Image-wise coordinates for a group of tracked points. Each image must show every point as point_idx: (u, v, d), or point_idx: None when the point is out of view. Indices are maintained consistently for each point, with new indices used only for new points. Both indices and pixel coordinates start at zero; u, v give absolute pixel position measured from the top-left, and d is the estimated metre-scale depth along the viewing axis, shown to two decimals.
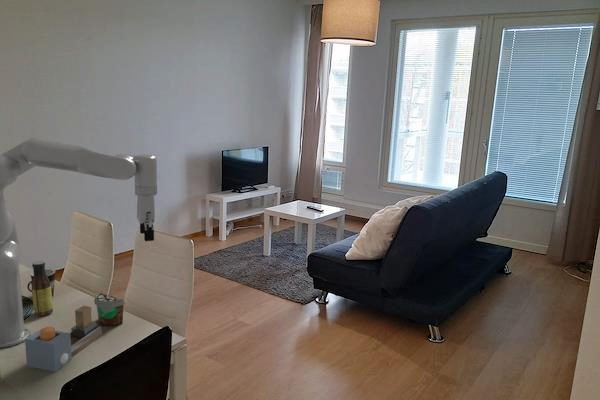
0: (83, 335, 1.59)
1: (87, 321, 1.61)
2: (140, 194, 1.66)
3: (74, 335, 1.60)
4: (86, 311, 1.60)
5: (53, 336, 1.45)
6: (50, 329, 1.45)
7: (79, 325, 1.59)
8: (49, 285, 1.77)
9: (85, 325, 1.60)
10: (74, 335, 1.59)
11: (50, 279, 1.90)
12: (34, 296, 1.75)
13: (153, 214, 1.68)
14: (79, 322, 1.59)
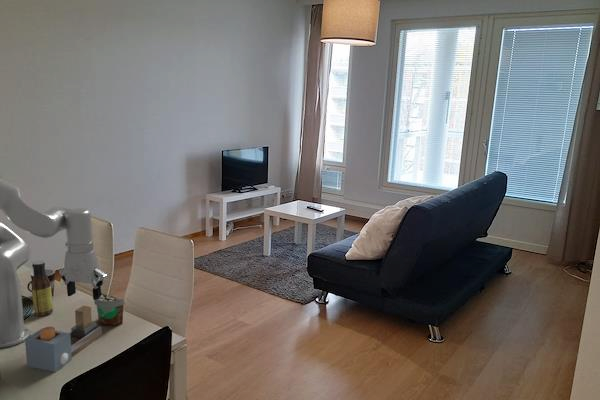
0: (83, 335, 1.59)
1: (87, 321, 1.61)
2: (83, 252, 1.53)
3: (74, 335, 1.60)
4: (86, 311, 1.60)
5: (53, 336, 1.45)
6: (50, 329, 1.45)
7: (79, 325, 1.59)
8: (49, 285, 1.77)
9: (85, 325, 1.60)
10: (74, 335, 1.59)
11: (50, 279, 1.90)
12: (34, 296, 1.75)
13: (98, 269, 1.58)
14: (79, 322, 1.59)
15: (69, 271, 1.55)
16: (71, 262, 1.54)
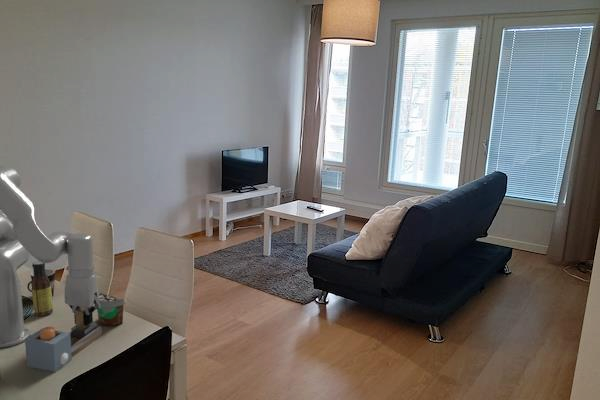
0: (83, 335, 1.59)
1: None
2: (84, 277, 1.55)
3: (74, 335, 1.60)
4: None
5: (53, 336, 1.45)
6: (50, 329, 1.45)
7: (79, 325, 1.59)
8: (49, 285, 1.77)
9: None
10: (74, 335, 1.59)
11: (50, 279, 1.90)
12: (34, 296, 1.75)
13: (98, 293, 1.60)
14: (79, 322, 1.59)
15: (69, 295, 1.57)
16: (71, 286, 1.56)
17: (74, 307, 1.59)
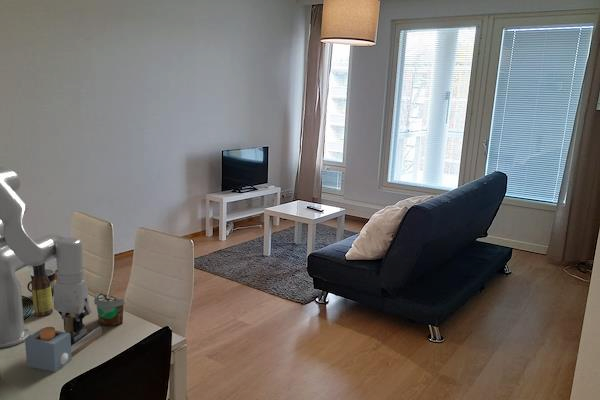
0: (73, 342, 1.54)
1: None
2: (73, 283, 1.50)
3: None
4: None
5: (53, 336, 1.45)
6: (50, 329, 1.45)
7: (69, 332, 1.55)
8: (49, 285, 1.77)
9: None
10: None
11: (50, 279, 1.90)
12: (34, 296, 1.75)
13: (88, 299, 1.55)
14: (68, 328, 1.55)
15: (58, 301, 1.52)
16: (61, 292, 1.51)
17: (63, 313, 1.55)
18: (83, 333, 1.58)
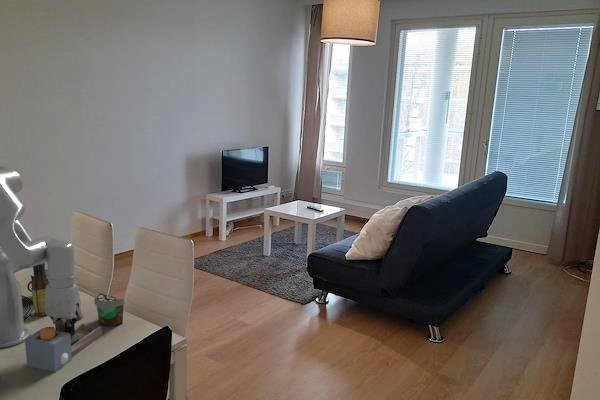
0: None
1: None
2: (65, 287, 1.46)
3: None
4: None
5: (53, 336, 1.45)
6: (50, 329, 1.45)
7: None
8: None
9: None
10: None
11: None
12: (34, 296, 1.75)
13: (80, 304, 1.51)
14: None
15: (49, 306, 1.49)
16: (52, 297, 1.48)
17: (55, 318, 1.51)
18: (75, 338, 1.54)
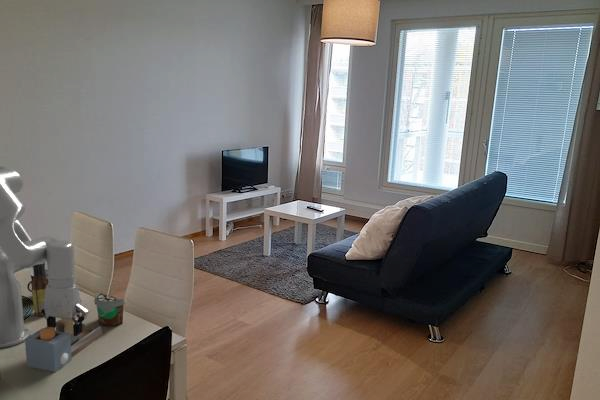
0: None
1: None
2: (64, 287, 1.46)
3: None
4: (67, 323, 1.51)
5: (53, 336, 1.45)
6: (50, 329, 1.45)
7: None
8: None
9: None
10: None
11: None
12: (34, 296, 1.75)
13: (80, 304, 1.51)
14: None
15: (49, 306, 1.49)
16: (51, 297, 1.48)
17: None
18: (75, 338, 1.54)
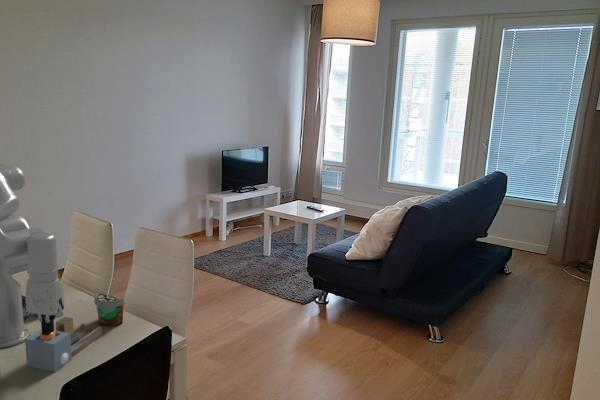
0: None
1: None
2: (46, 281, 1.39)
3: None
4: (67, 323, 1.51)
5: None
6: None
7: None
8: None
9: None
10: None
11: None
12: None
13: (63, 300, 1.43)
14: None
15: (31, 302, 1.41)
16: (33, 292, 1.40)
17: (41, 315, 1.43)
18: (75, 338, 1.54)
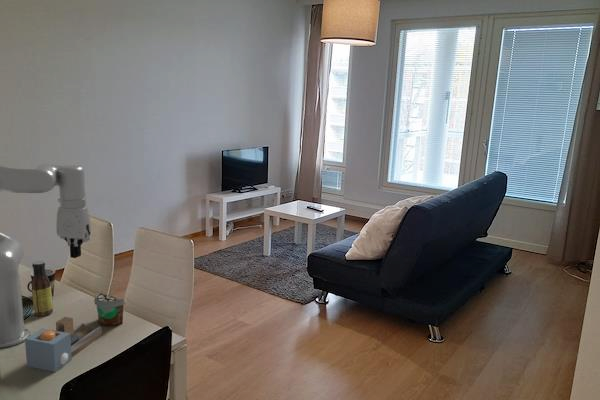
0: None
1: None
2: (75, 208, 1.55)
3: None
4: (67, 323, 1.51)
5: None
6: (50, 333, 1.46)
7: None
8: (49, 285, 1.77)
9: None
10: None
11: (50, 279, 1.90)
12: (34, 296, 1.75)
13: (90, 226, 1.60)
14: None
15: (61, 227, 1.57)
16: (63, 218, 1.56)
17: (70, 240, 1.59)
18: (75, 338, 1.54)
